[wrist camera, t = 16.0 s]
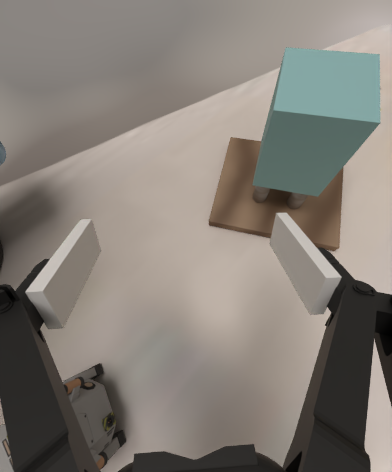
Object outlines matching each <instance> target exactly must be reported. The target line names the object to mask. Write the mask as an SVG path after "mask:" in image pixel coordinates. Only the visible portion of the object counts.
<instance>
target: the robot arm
mask: <svg viewBox="0 0 392 472" xmlns="http://www.w3.org/2000/svg"><path fill="white" fill-rule="evenodd" d="M5 158H6V151H5V148H4V146H3V145H2V143H1V142H0V165H1V164H2V163H3V162H4V161H5ZM270 246H271V247H272V249H273V251H274V253H275V254H276V256H277V258H278V260H279V261H280V263H281V265H282V267H283V268H284V270H285V272H286V274H287V275H288V277H289V279H290V281H291V282H292V284H293V286H294V288H295V289H296V291H297V293H298V295H299V296H300V298H301V300H302V302H303V303H304V305H305V307H306V309H307V310H308V312H309V314H310V315H315V314H324V312H325V310H326V308H327V307H328V308H329V310H330V311H331V315H330V316H329V318H328V320H327V322H326V324H325V326H327V327H326V330H325V333H324V337H323V340H322V343H321V347H320V350H319V354H318V357H317V360H316V364H315V367H314V371H313V374H312V377H311V381H310V384H309V387H308V391H307V394H306V398H305V401H304V404H303V408H302V411H301V415H300V418H299V421H298V425H297V428H296V431H295V435H294V438H293V441H292V444H291V446H290V449H289V451H288V453H287V456H286V459H285V462H284V465H283V468H282V467H281V466H280V465H279V464H277V463H276V462H275V461H273V460H272V459H270V458H268V457H267V456H264V455H262V454H260V453H257V452H255V447H254V444H251V445H238V446H226V447H223V448H221V449H219V450H217V451H214V452H212V453H210V454H208V455H206V456H204V457H202V458H199V459H197V460H192V459H189V458H185V457H182V456H178V455H175V454H171V453H168V452H164V451H163V452H151V453H138V454H134V461H133V462H132V463H130V464H128V465H127V466H125V467H123V468H122V469H121V470H119V471H118V472H370V458H369V455H368V454H367V453H366V452H365V448H364V441H365V431H366V420H367V409H368V398H369V387H370V377H371V366H372V355H373V344H374V339H375V343H376V347H377V351H378V354H379V358H380V362H381V366H382V370H383V374H384V378H385V382H386V386H387V390H388V394H389V398H390V402H391V406H392V295H390V294H385V293H380V292H376V290H375V289H374V288H373V287H371V286H370V285H369V284H366V283H364V282H362V281H358V280H355V279H354V278H353V277H352V276H351V275H350V274H349V273H348V272H347V271H346V269H345V268H344V267H343V266H342V265H341V264H339V262H338V261H337V260H336V259H335V257H334V256H333V255H332V254H331V253H330V252H329V251H327V250H325V249H324V248H322V247H320V248H316V246H315V245H314V244H313V243H312V242H311V241H310V239H309V238H308V237H307V236H306V235H305V234H304V232H303V231H302V230H301V229H300V228H299V226H298V225H297V224H296V223H295V222H294V221H293V219H292V218H291V217H290V216H289V215H288V214H287V213H276V216H275V221H274V226H273V230H272V235H271V239H270ZM100 252H101V248H100V245H99V241H98V238H97V235H96V231H95V228H94V225H93V222H92V219H80V221H79V222H78V223H77V225H76V226H75V227H74V229H73V230H72V231H71V233H70V234H69V235H68V236H67V238H66V239H65V240H64V242H63V243H62V244H61V246H60V247H59V248H58V250H57V251H56V252H55V253H54V255H53V256H52V257H51V259H44V260H43V261H42V262H40V263H39V264H37V265H36V266H35V267H34V269H33V270H32V271H31V273H30V274H29V275H28V276H27V278H26V279H25V280H24V281H23V282H22V283H21V285H20V286H19V287H18V288H17V290H16V291H14V289H13V288H12V287H11V286H10V285H6V284H4V285H0V399H1V404H2V410H3V415H4V421H5V426H6V431H7V437H8V442H9V448H10V453H11V458H12V464H13V469H14V472H101V471H100V469H99V467H98V466H97V464H96V462H95V460H94V458H93V456H92V454H91V452H90V449H89V447H88V444H87V442H86V439H85V437H84V434H83V432H82V429H81V427H80V424H79V422H78V420H77V417H76V415H75V412H74V410H73V407H72V405H71V402H70V400H69V397H68V395H67V393H66V390H65V388H64V385H63V383H62V380H61V378H60V375H59V373H58V370H57V368H56V366H55V363H54V361H53V358H52V356H51V353H50V351H49V348H48V346H47V343H46V341H45V338H44V336H43V334H42V332H41V330H40V328H41V326H42V324H43V322H44V323H45V325H46V326H47V328H48V329H57V328H64V326H65V324H66V322H67V320H68V318H69V315H70V313H71V311H72V309H73V307H74V305H75V303H76V301H77V299H78V297H79V295H80V293H81V291H82V289H83V287H84V285H85V283H86V281H87V279H88V277H89V275H90V273H91V270H92V268H93V266H94V264H95V262H96V260H97V258H98V256H99V254H100ZM1 263H2V245H1V242H0V267H1Z"/></svg>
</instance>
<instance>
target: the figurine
mask: <svg viewBox="0 0 392 472" xmlns="http://www.w3.org/2000/svg"><path fill="white" fill-rule="evenodd" d="M102 373H103V371H102V368H101V365H100V363H99V364H97V365H95V366H93V367H92V368H90V369H88V370H86V371H84V372H82V373H80V374H77V375H75V376H73V377H71V378H69V379H67V380H65V381H64V382H62V383H63V385H64V388H65V390H66V393H67V395H68V397H69V400H70V402H71V405H72V407H73V410H74V412H75V415H76V417H77V420H78V422H79V424H80V427H81V429H82V432H83V434H84V437H85V439H86V442H87V444H88V447H89V449H90V452H91V454H92V456H93V458H94V460H95V462H96V464H97V466H98V467H99V469H102V468H103V467H104V466H105V465H106V464H107V461H108V460H109V459H110V458H111V456H112V455H113V454H114V453H115V452H116V450H117V449H119V448H120V447H122V445H123V444H124V443H125V442H126V439H125V436H124V433H123V430H121V431H119V432H118V433H116V434H115V435H113V433H114V430H115V426H116V420H115V417H114V413H113V411H112V408H111V405H110V402H109V399H108V396H107V393H106V390H105V387H104V385H102V384H100V383H98V382H96V381H93V380H92V379H94V378H95V377H97V376H99V375H100V374H102ZM0 472H14V469H13V464H12V458H11V453H10V448H9V442H8V437H7V431H6V426H5V424H4V425H0Z"/></svg>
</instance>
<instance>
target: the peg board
mask: <svg viewBox="0 0 392 472" xmlns="http://www.w3.org/2000/svg"><path fill="white" fill-rule="evenodd" d="M260 146H261V141H254V140H247V139H240V138H232V137H231V138H230V142H229V146H228V150H227V153H226V157H225V161H224V165H223V169H222V173H221V176H220V180H219V184H218V188H217V192H216V196H215V199H214V203H213V207H212V211H211V215H210V219H209V225H211V226H216V227H220V228H225V229H230V230H235V231H240V232H245V233H249V234H254V235H259V236H264V237H269V238H271V235H272V230H273V226H274V221H275V216H276V213H287V214H288V215H289V216H290V217H291V218H292V219H293V221H294V222H295V223H296V224H297V225H298V226H299V228H300V229H301V230H302V231H303V232H304V234H305V235H306V236H307V237H308V238H309V239H310V241H311V242H312V243H313V244H314V245H315V246H316V247H317V248H320V247H322V248H324V249H327V250H332V251H334V250H336V249H338V248H339V243H340V223H341V202H342V182H343V168H342V169H341V170H340V171H339V172H338V173H337V175H336V176H335V177H334V178H333V179H332V181H331V182H330V183H329V184H328V185H327V186H326V188H325V189H324V190H323V191H322V192H321V194H320V195H319V196H318V197H317V196H311V195H305V194H300V193H294V192H288V191H283V190H277V189H271V188H265V187H260V186H254V185H252V184H253V180H254V175H255V170H256V165H257V160H258V156H259V151H260Z"/></svg>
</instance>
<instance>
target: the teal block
mask: <svg viewBox="0 0 392 472" xmlns="http://www.w3.org/2000/svg"><path fill="white" fill-rule="evenodd" d="M379 124H380V54H368V53H354V52H341V51H327V50H314V49H299V48H286V49H285V53H284V56H283V60H282V64H281V68H280V72H279V75H278V79H277V83H276V87H275V91H274V95H273V98H272V102H271V106H270V110H269V114H268V118H267V121H266V125H265V129H264V133H263V137H262V141H261V146H260V151H259V156H258V160H257V165H256V170H255V175H254V180H253V184H252V185H254V186H260V187H265V188H271V189H277V190H283V191H288V192H294V193H300V194H305V195H311V196H317V197H318V196H319V195H320V194H321V192H322V191H323V190H324V189H325V188H326V186H327V185H328V184H329V183H330V182H331V181H332V179H333V178H334V177H335V176H336V175H337V173H338V172H339V171H340V170H341V169H342V168H343V166H344V165H345V164H346V163H347V162H348V160H349V159H350V158H351V157H352V156H353V155H354V153H355V152H356V151H357V150H358V149H359V147H360V146H361V145H362V144H363V143H364V142H365V140H366V139H367V138H368V137H369V136H370V134H371V133H372V132H373V131H374V130H375V129H376V127H377V126H378V125H379Z"/></svg>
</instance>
